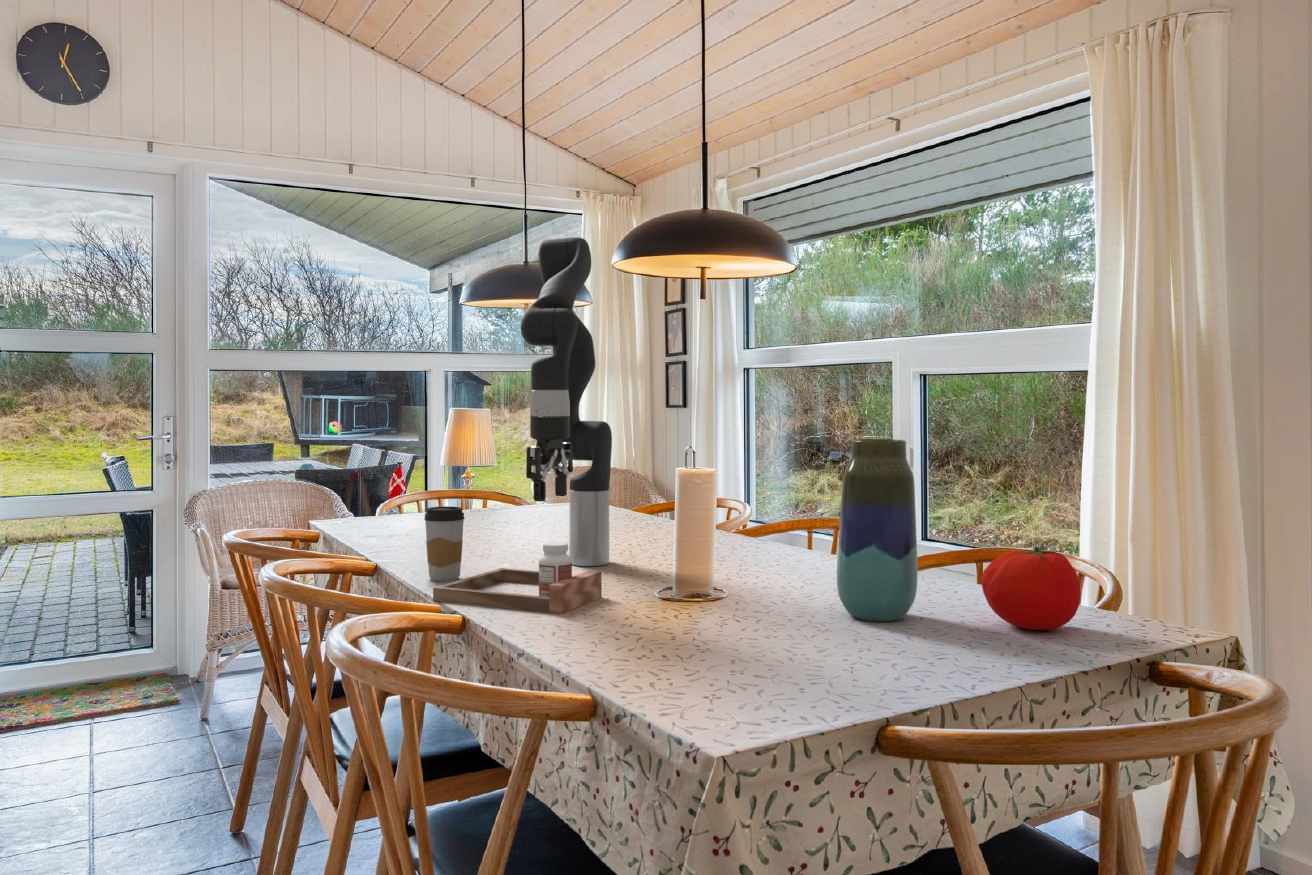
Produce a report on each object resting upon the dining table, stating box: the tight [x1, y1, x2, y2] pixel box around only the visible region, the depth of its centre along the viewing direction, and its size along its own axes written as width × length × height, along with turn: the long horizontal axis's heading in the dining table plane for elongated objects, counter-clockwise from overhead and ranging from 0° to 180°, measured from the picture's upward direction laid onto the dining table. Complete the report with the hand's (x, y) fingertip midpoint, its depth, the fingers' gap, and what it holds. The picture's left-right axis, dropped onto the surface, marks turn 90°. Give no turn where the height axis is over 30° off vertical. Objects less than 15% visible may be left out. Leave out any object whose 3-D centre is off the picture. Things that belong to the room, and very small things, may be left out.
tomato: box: [980, 544, 1081, 631], centre depth 158 cm, size 16×14×14 cm
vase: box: [836, 438, 919, 623], centre depth 165 cm, size 14×14×31 cm
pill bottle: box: [538, 541, 573, 597], centre depth 176 cm, size 6×6×11 cm
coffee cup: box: [424, 506, 465, 582], centre depth 199 cm, size 8×8×15 cm
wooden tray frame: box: [432, 567, 603, 615], centre depth 183 cm, size 24×28×5 cm
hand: (550, 498), depth 180 cm, fingers open, 8 cm apart
